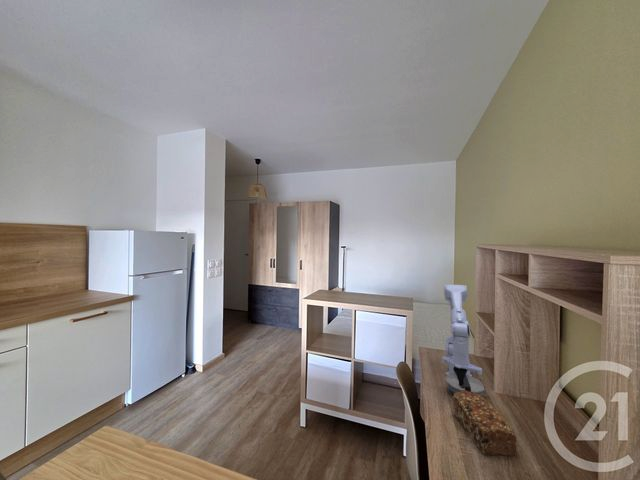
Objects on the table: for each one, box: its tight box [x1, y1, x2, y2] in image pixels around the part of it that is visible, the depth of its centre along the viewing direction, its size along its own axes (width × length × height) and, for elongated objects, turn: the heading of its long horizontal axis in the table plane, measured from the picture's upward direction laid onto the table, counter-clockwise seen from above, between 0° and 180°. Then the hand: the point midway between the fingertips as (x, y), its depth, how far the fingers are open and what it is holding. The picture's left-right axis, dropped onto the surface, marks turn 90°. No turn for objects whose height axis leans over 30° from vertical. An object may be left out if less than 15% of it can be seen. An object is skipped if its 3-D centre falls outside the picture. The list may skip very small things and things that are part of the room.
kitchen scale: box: [446, 382, 484, 398], centre depth 103 cm, size 18×14×4 cm
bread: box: [452, 391, 517, 457], centre depth 83 cm, size 19×11×10 cm, turn 177°
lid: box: [445, 373, 485, 393], centre depth 105 cm, size 16×14×3 cm
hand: (461, 385), depth 101 cm, fingers closed, pressing on lid
